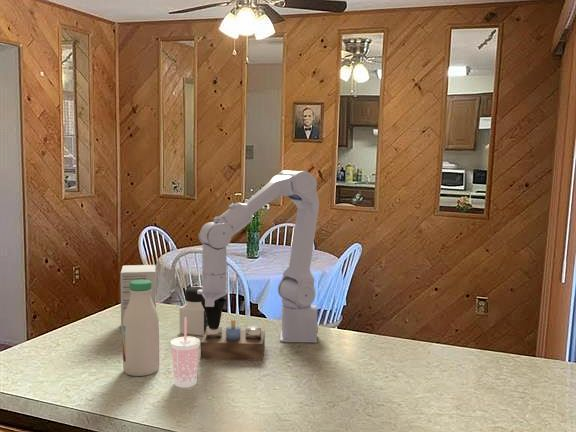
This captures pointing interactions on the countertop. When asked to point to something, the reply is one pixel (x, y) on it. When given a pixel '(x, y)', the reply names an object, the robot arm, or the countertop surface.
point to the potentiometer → (233, 331)
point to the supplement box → (132, 274)
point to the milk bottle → (140, 332)
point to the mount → (233, 347)
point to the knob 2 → (253, 332)
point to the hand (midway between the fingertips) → (214, 328)
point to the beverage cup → (185, 359)
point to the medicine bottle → (193, 312)
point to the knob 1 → (214, 333)
